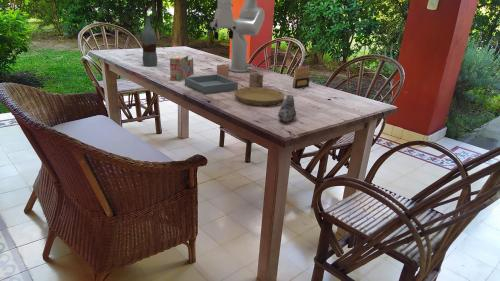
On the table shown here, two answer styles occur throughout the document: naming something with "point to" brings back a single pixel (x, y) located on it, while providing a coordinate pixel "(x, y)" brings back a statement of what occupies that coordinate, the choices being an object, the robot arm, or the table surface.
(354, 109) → the table surface
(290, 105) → the mineral rock
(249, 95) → the plant saucer
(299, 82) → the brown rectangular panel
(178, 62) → the stack of blocks
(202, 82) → the tray
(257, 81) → the walnut block
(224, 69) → the terracotta block
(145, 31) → the bottle
